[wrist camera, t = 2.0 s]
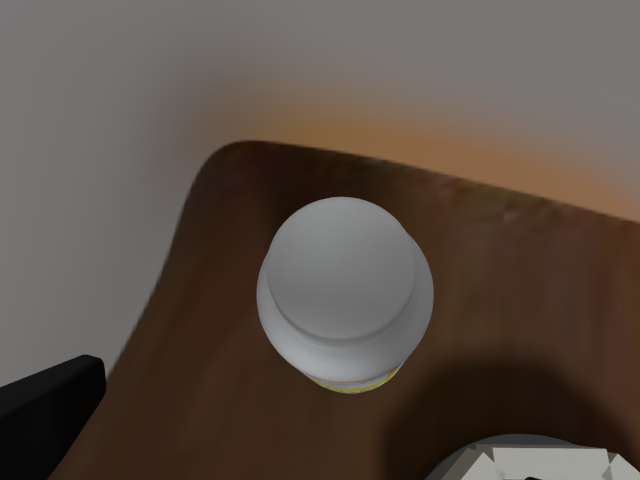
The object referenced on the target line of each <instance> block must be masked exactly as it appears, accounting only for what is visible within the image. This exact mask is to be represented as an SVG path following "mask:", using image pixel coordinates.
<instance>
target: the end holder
mask: <svg viewBox="0 0 640 480" xmlns="http://www.w3.org/2000/svg"><path fill="white" fill-rule="evenodd" d="M527 477H534V478H538V479H541V480H640V472H639V471H637V470H636V469H635V468H634V467H633V466H632V465H630V464H629V463H628V462H627V461H626V460H625V459H623V458H622V457H621V456H620V455H619V454H617V453H610V452H607V450H606V449H603V448H594V447H586V446H578V445H575V444H572V443H570V442H567V441H564V440H561V439H556V438H552V437H547V436H542V435H532V434H518V433H517V434H501V435H496V436H491V437H486V438H482V439H480V440H477V441H474V442H472V443H469V444H467V445H465V446H463V447H461V448H459V449H458V450H456V451H454V452H452V453H451V454H450V455H448V456H447V457H446V458H444V459H443V460H442V461H441V462H439V463H438V464H437V465H436V466H435V467H434V468H433V469H432V470H431V472H430V473H429V474H428V475H427V476H426V477H425V478H424V480H525V479H526V478H527Z"/></svg>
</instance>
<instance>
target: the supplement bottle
mask: <svg viewBox="0 0 640 480" xmlns="http://www.w3.org/2000/svg"><path fill="white" fill-rule="evenodd" d="M433 297H434V289H433V281H432V276H431V272H430V269H429V266H428V263H427V260H426V258H425V256H424V254H423V253H422V251H421V249H420V248H419V246H418V245H417V244H416V242H415V241H414V240H413V239H412V237H411V236H410V235H409V234H408V233H407V232H406V231H405V230H404V228H403V227H402V226H401V224H400V223H399V222H398V221H397V220H396V219H395V218H394V217H393V216H392V215H391V214H390V213H388V212H387V211H386V210H384V209H382V208H381V207H379V206H377V205H375V204H373V203H371V202H368V201H365V200H361V199H357V198H350V197H333V198H327V199H322V200H318V201H316V202H313V203H310V204H308V205H306V206H305V207H303V208H301V209H299V210H298V211H296V212H295V213H294V214H293V215H291V216H290V217H289V218H288V219H287V220H286V221H285V222H284V224H283V225H282V226H281V227H280V228H279V230H278V231H277V233H276V235H275V236H274V239H273V241H272V243H271V246H270V248H269V252H268V253H267V255H266V257H265V259H264V261H263V264H262V267H261V270H260V273H259V278H258V283H257V308H258V313H259V317H260V320H261V324H262V326H263V328H264V331H265V333H266V335H267V337H268V338H269V340H270V342H271V343H272V345H273V346H274V347H275V349H276V350H277V351H278V352H279V353H280V355H281V356H282V357H283V358H284V359H285V360H287V361H288V362H289V363H290V364H291V365H293V366H294V367H295V368H297V369H298V370H299V371H301V372H302V373H303V374H305V375H306V376H307V377H309V378H310V379H311V380H313V381H314V382H316V383H317V384H319V385H320V386H322V387H324V388H325V389H329V390H331V391H335V392H339V393H346V394H356V393H362V392H366V391H370V390H373V389H375V388H377V387H379V386H381V385H383V384H384V383H386V382H387V381H388V380H389V379H390V378H392V377H393V376H394V374H395V373H396V372H397V371H398V370H399V368H400V367H401V366H402V365H403V363H404V362H405V361H406V359H407V358H408V357H409V355H410V354H411V353H412V352H413V350H414V349H415V348H416V346H417V345H418V344H419V342H420V341H421V339H422V338H423V336H424V334H425V332H426V329H427V326H428V324H429V321H430V317H431V313H432V308H433Z"/></svg>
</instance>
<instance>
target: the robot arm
mask: <svg viewBox="0 0 640 480" xmlns="http://www.w3.org/2000/svg"><path fill="white" fill-rule="evenodd" d="M105 392H106V377H105V369H104V363H103V361H102V360H101V359H100V358H97V357H94V356H90V355H81V356H79V357H76V358H73V359H71V360H68V361H66V362H63V363H61V364H58V365H56V366H53V367H51V368H48V369H45V370H43V371H40V372H38V373H35V374H33V375H30V376H28V377H25V378H23V379H21V380H18V381H15V382H13V383H10V384H8V385H5V386H2V387H0V480H47V478H48V477H49V476H50V474H51V473H52V472H53V471H54V469H55V468H56V467H57V465H58V464H59V463H60V462H61V460H62V459H63V457H64V456H65V454H66V453H67V452H68V450H69V449H70V447H71V446H72V444H73V443H74V441H75V440H76V438H77V437H78V435H79V434H80V432H81V431H82V429H83V427H84V426H85V424H86V423H87V421H88V420H89V418H90V417H91V415H92V414H93V412H94V411H95V409H96V408H97V406H98V405H99V403H100V402H101V400H102V399H103V397H104V395H105ZM525 480H541V479H538V478H534V477H527V478H526V479H525Z"/></svg>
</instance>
